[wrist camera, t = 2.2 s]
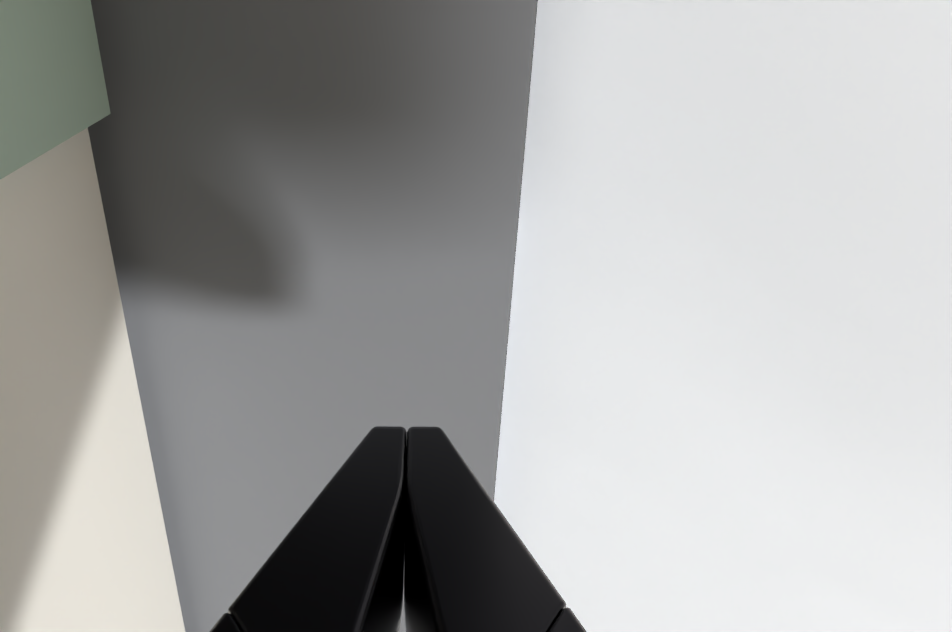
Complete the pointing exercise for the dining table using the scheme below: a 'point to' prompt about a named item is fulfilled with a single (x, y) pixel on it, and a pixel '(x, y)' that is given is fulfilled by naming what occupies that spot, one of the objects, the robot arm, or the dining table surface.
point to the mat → (306, 246)
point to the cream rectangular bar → (67, 355)
